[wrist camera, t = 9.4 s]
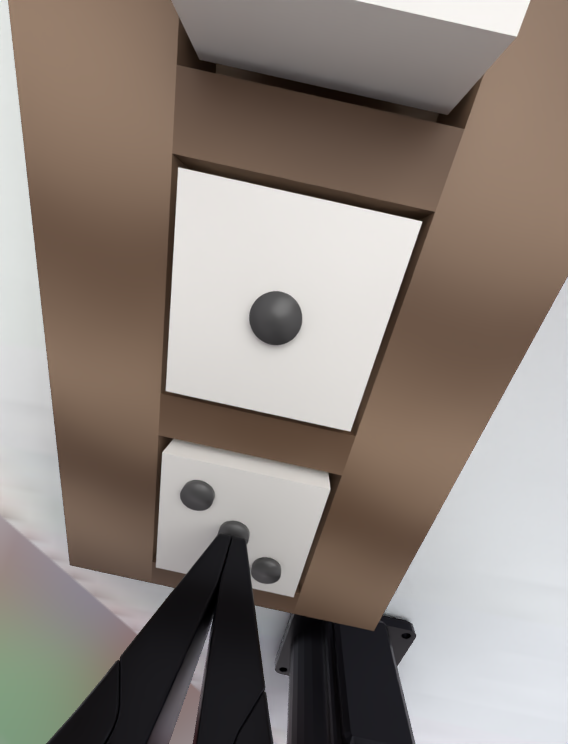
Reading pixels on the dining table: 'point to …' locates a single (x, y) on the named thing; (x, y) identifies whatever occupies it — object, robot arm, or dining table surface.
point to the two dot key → (360, 43)
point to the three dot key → (239, 511)
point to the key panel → (301, 176)
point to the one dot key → (280, 297)
